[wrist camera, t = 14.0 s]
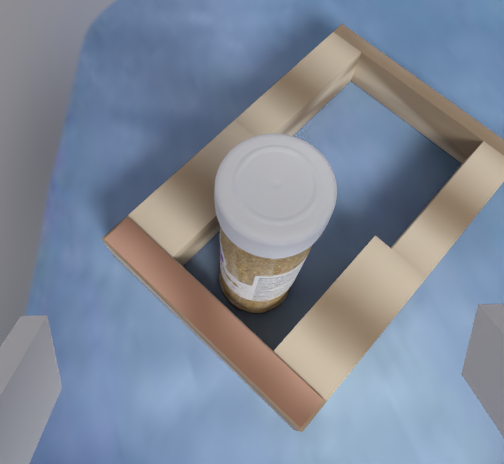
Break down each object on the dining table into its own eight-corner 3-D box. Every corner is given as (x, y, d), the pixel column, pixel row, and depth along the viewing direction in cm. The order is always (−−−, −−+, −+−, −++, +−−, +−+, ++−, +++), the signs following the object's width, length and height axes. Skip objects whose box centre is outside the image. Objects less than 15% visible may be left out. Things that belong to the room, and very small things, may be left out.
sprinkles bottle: (210, 255, 30) (198, 144, 18) (278, 236, 31) (314, 116, 18) (231, 325, 29) (235, 258, 16) (302, 303, 29) (358, 222, 17)
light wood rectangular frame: (333, 53, 36) (342, 21, 33) (499, 176, 33) (526, 153, 30) (113, 254, 30) (100, 237, 27) (294, 429, 27) (302, 432, 24)
